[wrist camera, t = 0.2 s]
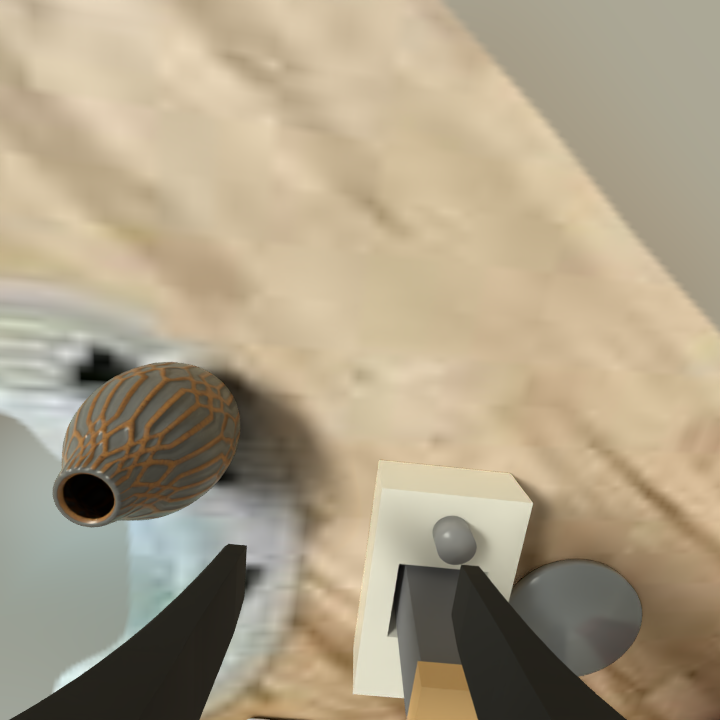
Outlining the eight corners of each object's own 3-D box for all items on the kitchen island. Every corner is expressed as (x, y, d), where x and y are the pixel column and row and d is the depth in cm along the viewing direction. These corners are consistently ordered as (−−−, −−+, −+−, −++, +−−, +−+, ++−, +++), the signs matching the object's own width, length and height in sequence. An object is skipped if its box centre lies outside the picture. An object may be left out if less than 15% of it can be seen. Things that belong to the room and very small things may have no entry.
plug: (454, 595, 24) (508, 775, 16) (388, 589, 24) (405, 767, 16) (466, 538, 23) (531, 696, 15) (397, 531, 23) (421, 686, 15)
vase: (268, 372, 21) (205, 440, 12) (238, 476, 22) (164, 602, 14) (146, 334, 20) (-6, 378, 12) (124, 443, 22) (-26, 553, 13)
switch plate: (468, 655, 26) (489, 728, 21) (353, 645, 25) (352, 717, 21) (510, 473, 22) (544, 517, 18) (379, 459, 22) (383, 501, 18)
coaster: (614, 673, 26) (620, 683, 25) (488, 662, 26) (491, 671, 25) (652, 565, 24) (659, 573, 23) (515, 552, 24) (519, 559, 23)
